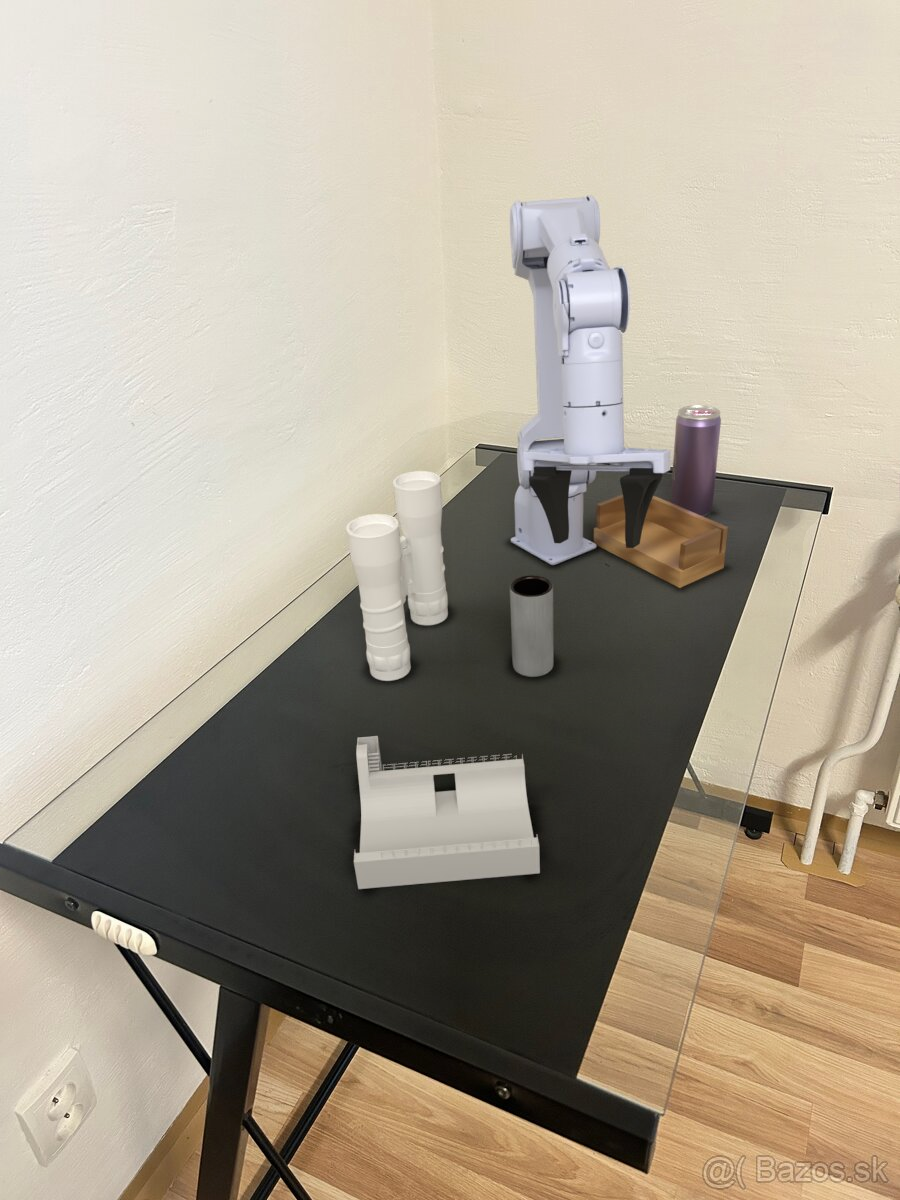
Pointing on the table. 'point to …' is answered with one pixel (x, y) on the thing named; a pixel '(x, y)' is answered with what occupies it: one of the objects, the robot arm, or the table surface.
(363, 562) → the binoculars
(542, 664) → the grey tube
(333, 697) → the table surface
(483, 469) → the table surface
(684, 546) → the wooden tray
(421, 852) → the skate ramp
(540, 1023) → the table surface
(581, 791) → the table surface
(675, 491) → the beverage can
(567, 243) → the robot arm
